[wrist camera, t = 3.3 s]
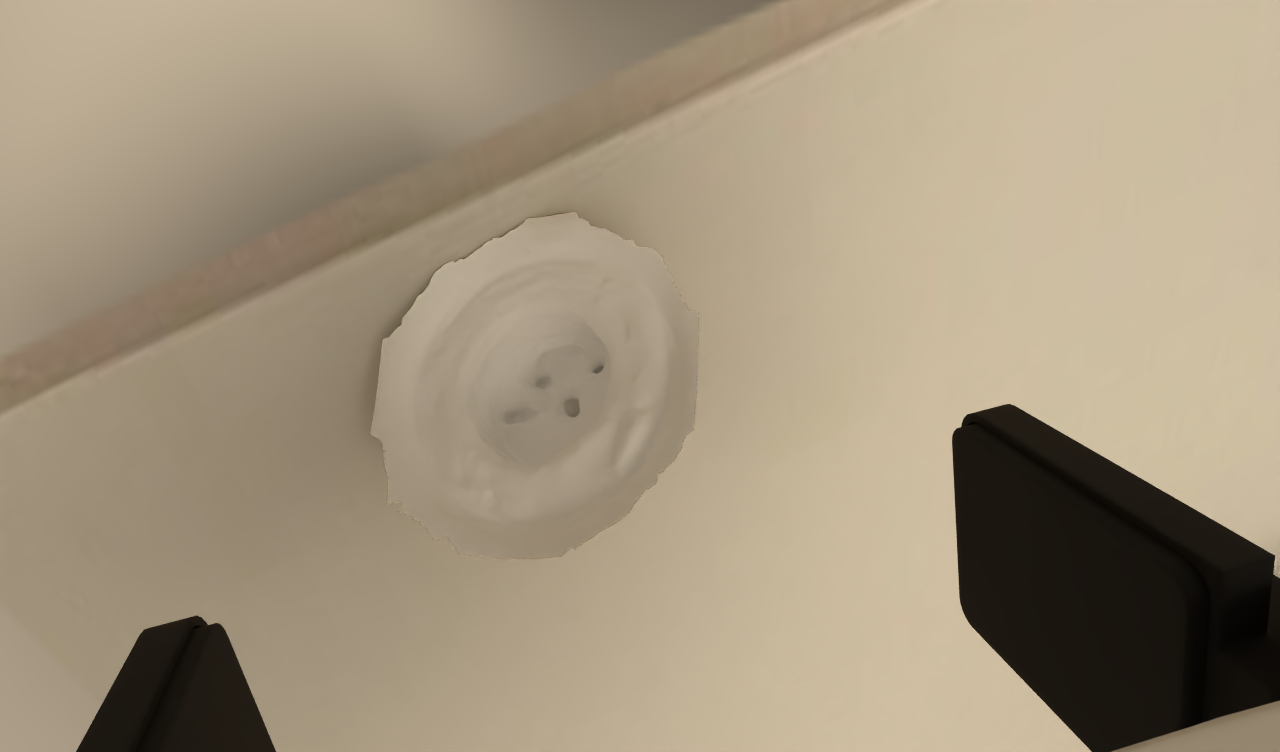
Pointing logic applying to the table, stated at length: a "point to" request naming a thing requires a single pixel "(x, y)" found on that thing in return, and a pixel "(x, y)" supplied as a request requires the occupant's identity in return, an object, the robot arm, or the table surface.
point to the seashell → (536, 389)
